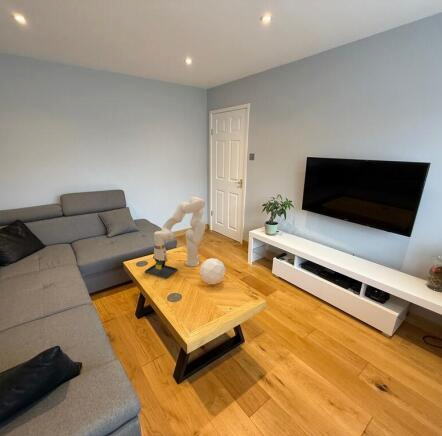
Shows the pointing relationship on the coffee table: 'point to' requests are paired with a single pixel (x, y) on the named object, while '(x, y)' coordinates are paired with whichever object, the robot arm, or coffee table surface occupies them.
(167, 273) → the tray
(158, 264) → the sponge
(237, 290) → the coffee table surface
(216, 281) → the geometric sphere
